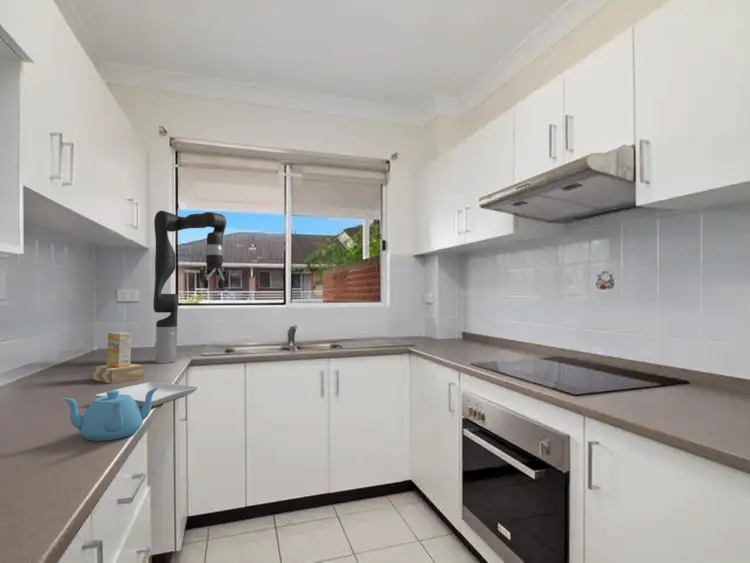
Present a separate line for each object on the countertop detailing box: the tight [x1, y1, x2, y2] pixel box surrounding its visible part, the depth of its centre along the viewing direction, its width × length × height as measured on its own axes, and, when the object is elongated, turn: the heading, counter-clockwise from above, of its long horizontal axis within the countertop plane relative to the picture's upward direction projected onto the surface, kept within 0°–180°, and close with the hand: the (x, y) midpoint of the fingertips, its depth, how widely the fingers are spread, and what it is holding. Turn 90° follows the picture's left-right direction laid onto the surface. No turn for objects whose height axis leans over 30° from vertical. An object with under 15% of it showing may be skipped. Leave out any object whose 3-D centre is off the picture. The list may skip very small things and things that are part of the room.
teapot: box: [61, 387, 159, 442], centre depth 103 cm, size 15×15×10 cm
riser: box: [91, 363, 145, 385], centre depth 167 cm, size 14×12×5 cm
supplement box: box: [106, 331, 132, 368], centre depth 168 cm, size 8×5×13 cm, turn 61°
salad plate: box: [95, 382, 198, 408], centre depth 136 cm, size 21×21×3 cm
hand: (213, 288), depth 205 cm, fingers open, 8 cm apart
